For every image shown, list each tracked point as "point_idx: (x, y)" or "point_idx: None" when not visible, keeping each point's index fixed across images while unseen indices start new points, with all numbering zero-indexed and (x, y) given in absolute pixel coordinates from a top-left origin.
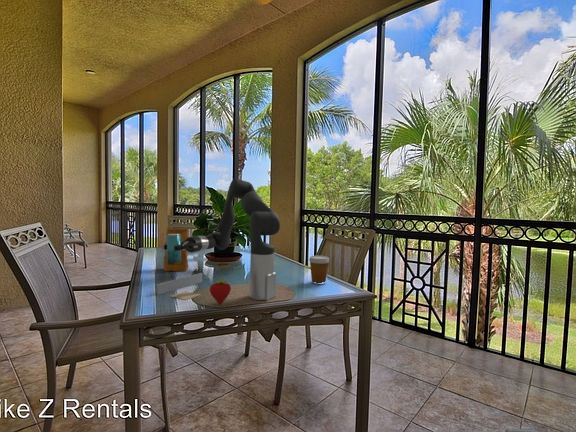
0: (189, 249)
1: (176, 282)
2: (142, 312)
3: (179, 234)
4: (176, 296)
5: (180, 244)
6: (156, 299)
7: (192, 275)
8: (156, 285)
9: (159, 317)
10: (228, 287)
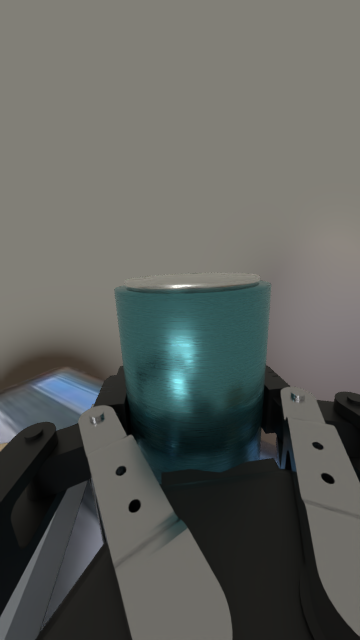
0: (13, 509)
1: None
2: (60, 379)
3: (127, 281)
4: None
5: (130, 401)
6: (78, 413)
7: (3, 618)
8: None
9: (18, 383)
10: None
